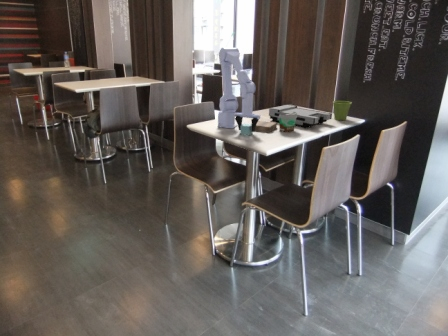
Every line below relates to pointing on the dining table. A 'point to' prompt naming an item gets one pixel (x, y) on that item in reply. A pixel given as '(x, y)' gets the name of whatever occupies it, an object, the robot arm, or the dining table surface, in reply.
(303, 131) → the dining table surface
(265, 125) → the walnut base
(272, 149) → the dining table surface
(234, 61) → the robot arm
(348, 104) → the plant pot
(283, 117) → the food container
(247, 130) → the teal cube
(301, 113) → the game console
